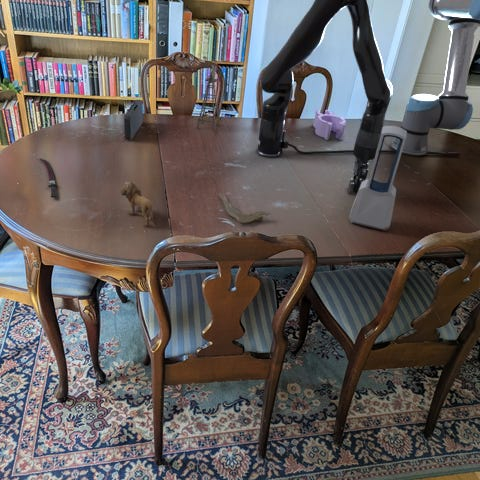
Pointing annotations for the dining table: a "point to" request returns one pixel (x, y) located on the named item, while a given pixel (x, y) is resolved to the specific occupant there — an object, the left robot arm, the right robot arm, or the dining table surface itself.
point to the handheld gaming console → (133, 119)
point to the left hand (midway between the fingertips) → (355, 188)
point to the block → (351, 187)
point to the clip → (329, 124)
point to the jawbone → (239, 215)
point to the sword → (52, 181)
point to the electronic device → (378, 189)
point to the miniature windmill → (210, 80)
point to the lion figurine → (137, 201)
